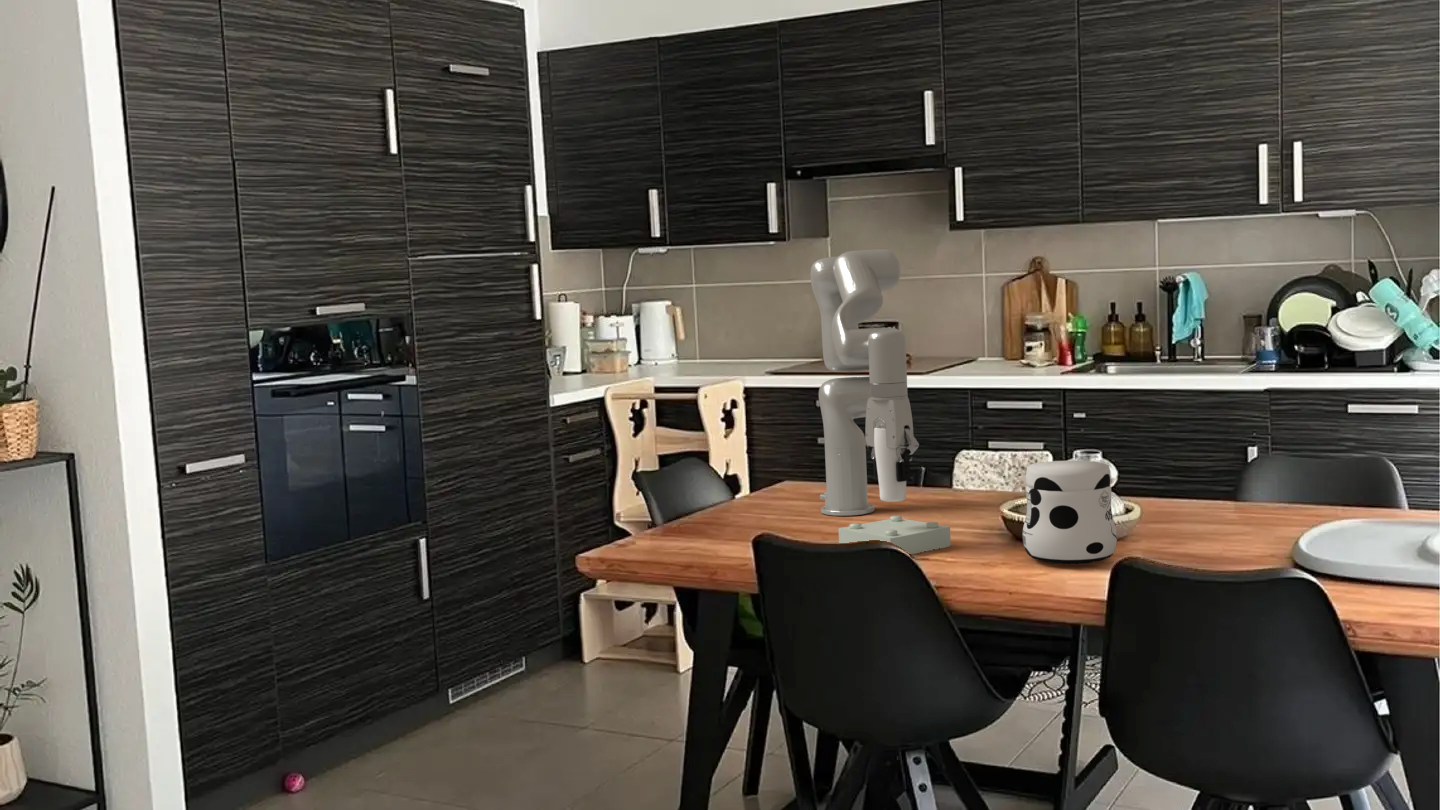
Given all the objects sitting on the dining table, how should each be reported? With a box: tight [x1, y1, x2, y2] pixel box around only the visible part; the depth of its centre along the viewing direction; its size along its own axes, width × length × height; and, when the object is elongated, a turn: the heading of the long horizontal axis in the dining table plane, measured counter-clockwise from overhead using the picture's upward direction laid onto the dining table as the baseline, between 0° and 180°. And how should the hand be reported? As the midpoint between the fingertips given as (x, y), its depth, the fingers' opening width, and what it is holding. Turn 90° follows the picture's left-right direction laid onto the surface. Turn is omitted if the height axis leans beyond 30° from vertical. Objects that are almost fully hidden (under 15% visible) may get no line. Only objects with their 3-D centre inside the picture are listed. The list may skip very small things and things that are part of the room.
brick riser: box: [838, 515, 952, 555], centre depth 282 cm, size 16×16×5 cm
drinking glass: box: [874, 428, 907, 503], centre depth 281 cm, size 7×7×15 cm
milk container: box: [1022, 460, 1118, 565], centre depth 262 cm, size 17×17×18 cm
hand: (892, 478), depth 281 cm, fingers closed on drinking glass, 6 cm apart
